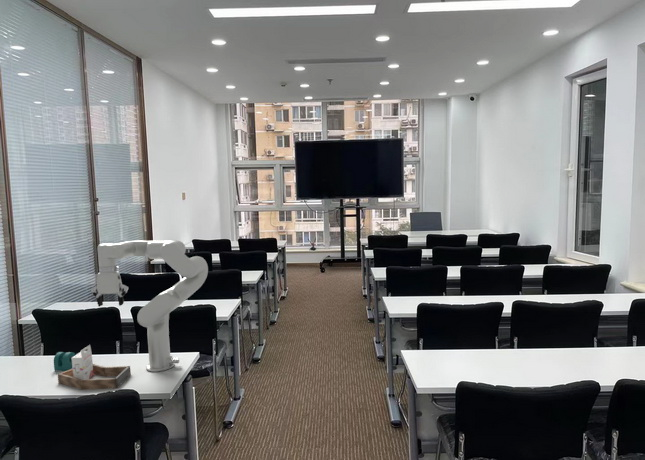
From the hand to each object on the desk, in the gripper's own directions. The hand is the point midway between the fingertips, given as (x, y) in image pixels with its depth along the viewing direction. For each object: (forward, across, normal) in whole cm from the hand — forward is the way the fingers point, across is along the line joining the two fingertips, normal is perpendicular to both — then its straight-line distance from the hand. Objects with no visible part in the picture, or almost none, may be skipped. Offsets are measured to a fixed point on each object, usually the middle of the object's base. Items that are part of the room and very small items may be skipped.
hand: (110, 305), depth 216 cm
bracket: (+31, +24, -8) cm, 40 cm away
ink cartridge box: (+31, +9, +13) cm, 34 cm away
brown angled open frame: (+30, +4, +14) cm, 34 cm away
